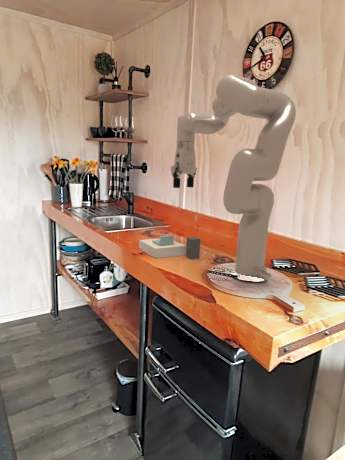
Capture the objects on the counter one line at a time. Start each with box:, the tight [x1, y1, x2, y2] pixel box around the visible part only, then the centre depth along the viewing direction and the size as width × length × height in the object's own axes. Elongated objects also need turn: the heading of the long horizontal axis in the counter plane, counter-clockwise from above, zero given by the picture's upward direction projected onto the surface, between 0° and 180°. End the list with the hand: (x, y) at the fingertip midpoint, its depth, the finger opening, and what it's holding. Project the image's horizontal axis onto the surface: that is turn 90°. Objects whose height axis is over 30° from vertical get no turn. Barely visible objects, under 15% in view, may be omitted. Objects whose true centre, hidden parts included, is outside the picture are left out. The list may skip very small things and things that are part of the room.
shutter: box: [152, 235, 175, 245], centre depth 136 cm, size 7×7×4 cm
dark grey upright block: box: [185, 236, 201, 260], centre depth 130 cm, size 4×4×8 cm
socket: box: [138, 237, 186, 259], centre depth 137 cm, size 16×14×4 cm
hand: (183, 187), depth 139 cm, fingers open, 9 cm apart
